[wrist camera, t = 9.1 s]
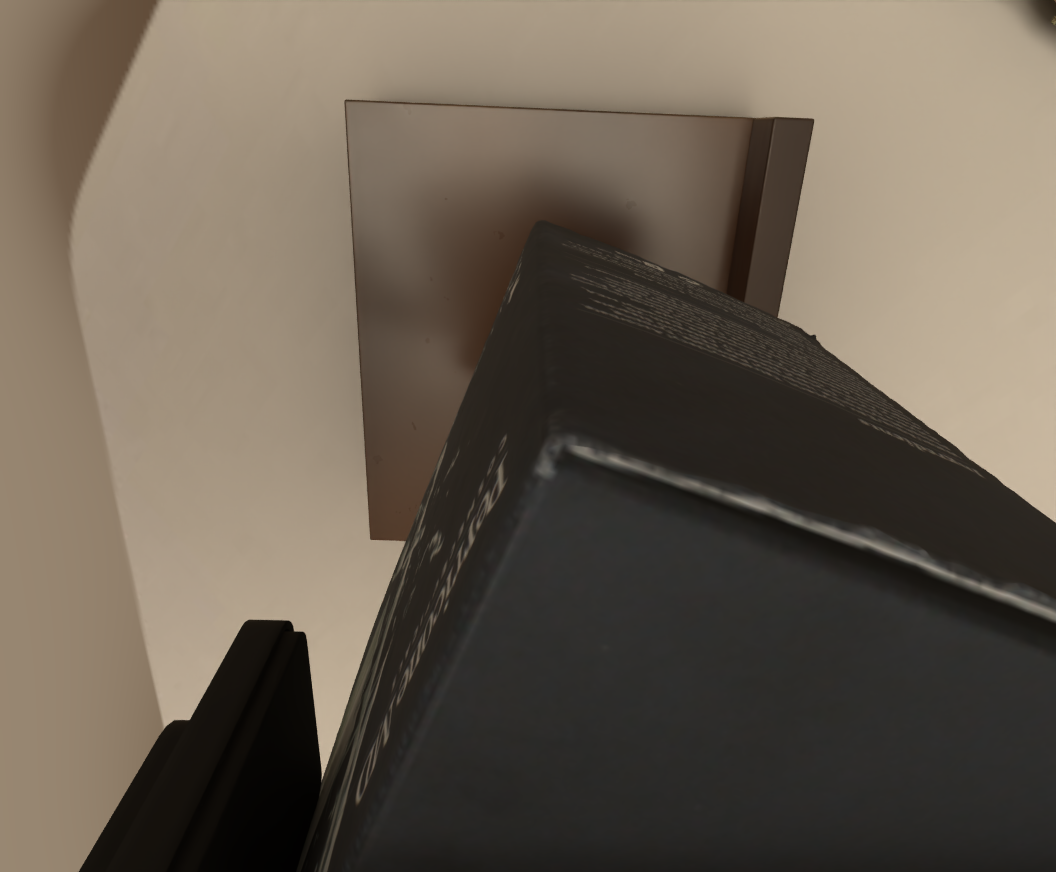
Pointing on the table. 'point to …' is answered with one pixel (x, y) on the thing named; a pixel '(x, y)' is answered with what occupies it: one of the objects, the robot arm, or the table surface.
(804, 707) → the box
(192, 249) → the table surface
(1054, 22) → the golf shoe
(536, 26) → the table surface
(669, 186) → the shelf
